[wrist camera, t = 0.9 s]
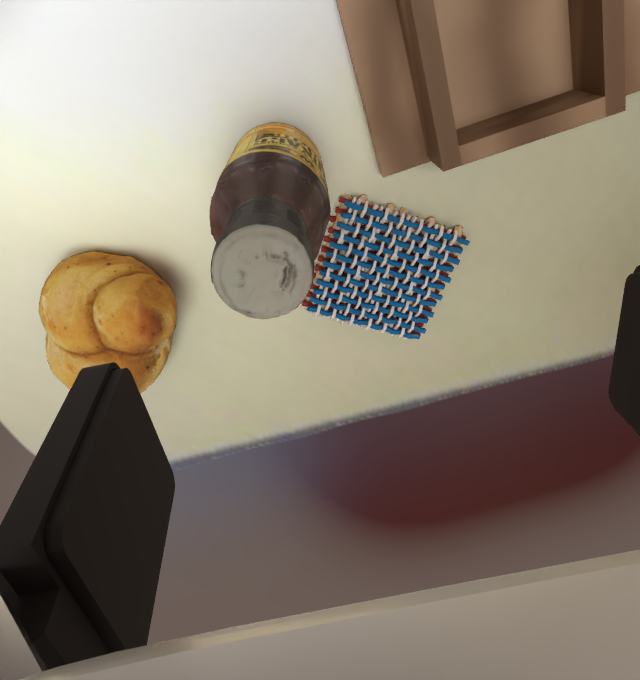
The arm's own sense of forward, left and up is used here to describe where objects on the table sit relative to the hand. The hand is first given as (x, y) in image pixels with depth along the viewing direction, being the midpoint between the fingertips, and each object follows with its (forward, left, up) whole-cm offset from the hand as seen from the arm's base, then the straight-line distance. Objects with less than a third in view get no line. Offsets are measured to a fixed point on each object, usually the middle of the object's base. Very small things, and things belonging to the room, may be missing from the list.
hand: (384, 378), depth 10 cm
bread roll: (+19, +9, -31) cm, 37 cm away
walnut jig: (-14, -3, -31) cm, 34 cm away
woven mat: (-2, +12, -31) cm, 34 cm away
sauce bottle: (+3, +2, -31) cm, 31 cm away
